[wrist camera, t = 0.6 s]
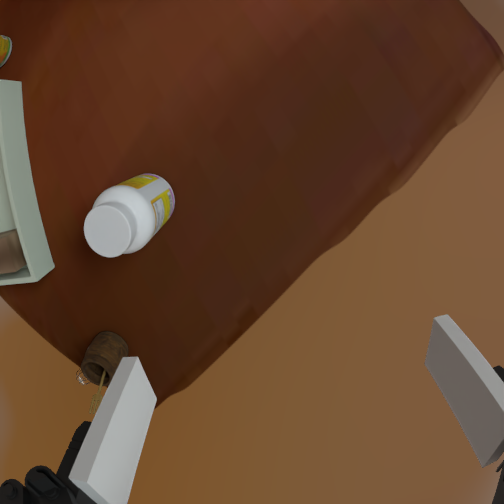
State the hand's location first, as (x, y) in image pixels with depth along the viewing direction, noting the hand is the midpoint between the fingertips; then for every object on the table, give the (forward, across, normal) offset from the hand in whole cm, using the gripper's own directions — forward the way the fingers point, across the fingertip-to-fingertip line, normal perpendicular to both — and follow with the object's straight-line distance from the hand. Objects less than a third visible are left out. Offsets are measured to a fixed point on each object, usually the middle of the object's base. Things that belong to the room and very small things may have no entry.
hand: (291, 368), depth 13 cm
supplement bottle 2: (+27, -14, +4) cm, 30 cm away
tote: (+27, -38, +11) cm, 48 cm away
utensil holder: (+26, -26, -17) cm, 41 cm away
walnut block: (+26, -39, +2) cm, 47 cm away
